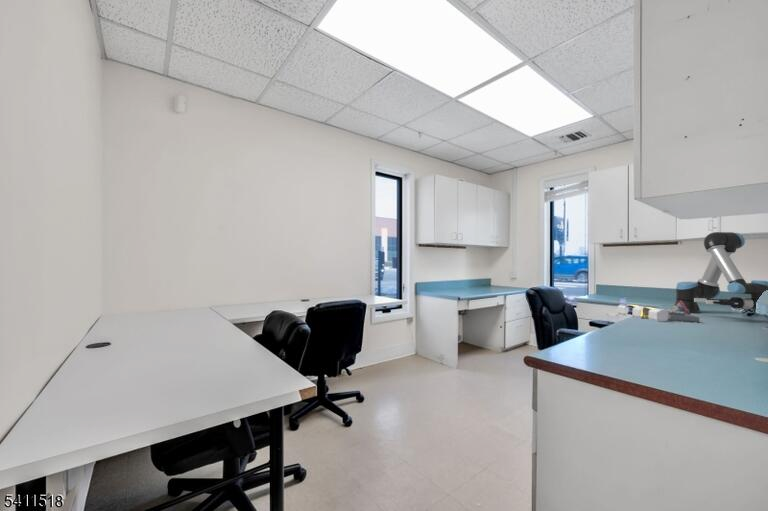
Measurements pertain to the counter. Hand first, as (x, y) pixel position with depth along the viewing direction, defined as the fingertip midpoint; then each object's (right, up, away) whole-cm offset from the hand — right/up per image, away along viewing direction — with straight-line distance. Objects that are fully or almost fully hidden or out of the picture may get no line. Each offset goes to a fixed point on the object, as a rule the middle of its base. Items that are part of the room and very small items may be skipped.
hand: (700, 300), depth 215 cm
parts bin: (-25, -11, -10) cm, 29 cm away
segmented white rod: (-46, -11, -6) cm, 48 cm away
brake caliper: (-10, -12, +5) cm, 16 cm away
